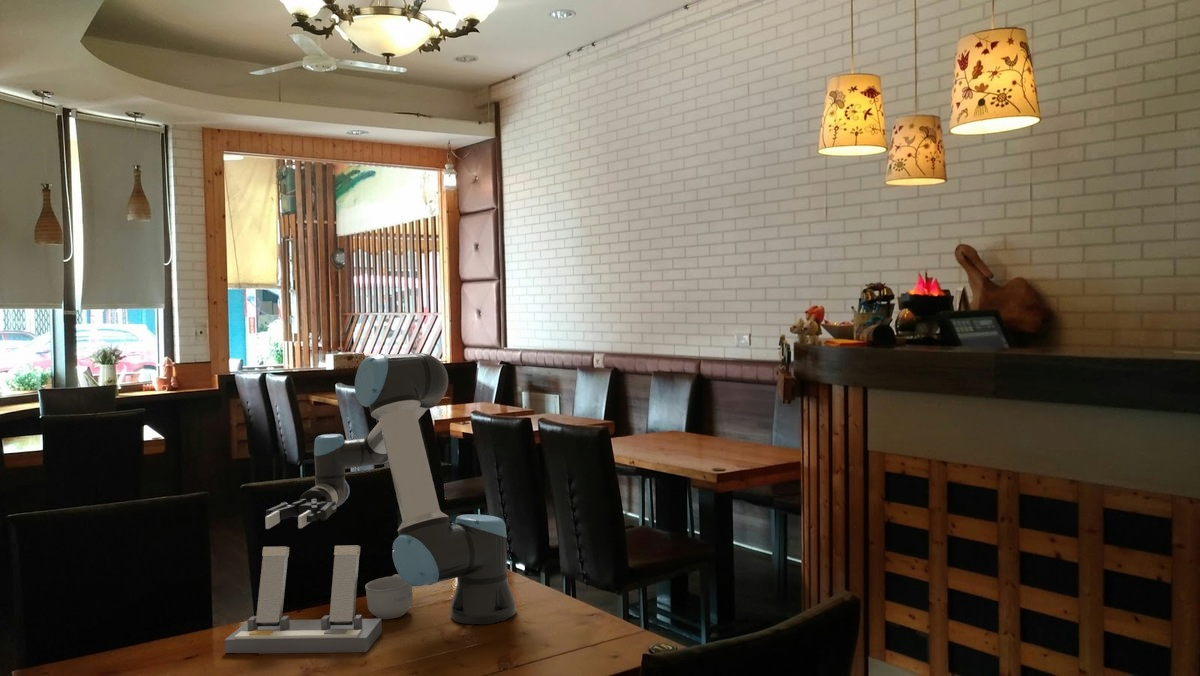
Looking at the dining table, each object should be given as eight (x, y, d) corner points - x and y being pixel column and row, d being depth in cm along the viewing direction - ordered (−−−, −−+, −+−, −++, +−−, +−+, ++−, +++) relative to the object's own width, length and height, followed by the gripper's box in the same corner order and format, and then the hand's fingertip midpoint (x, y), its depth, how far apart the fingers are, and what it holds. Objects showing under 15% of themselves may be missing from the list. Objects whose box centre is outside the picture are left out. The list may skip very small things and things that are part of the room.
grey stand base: (381, 631, 199) (381, 607, 198) (366, 652, 187) (365, 626, 187) (248, 633, 199) (248, 609, 199) (225, 653, 187) (224, 628, 187)
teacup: (401, 624, 204) (400, 589, 204) (357, 621, 206) (356, 587, 206) (425, 604, 217) (424, 572, 217) (384, 602, 220) (383, 570, 219)
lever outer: (281, 626, 194) (289, 547, 199) (277, 626, 192) (285, 546, 197) (259, 626, 194) (267, 547, 199) (254, 626, 192) (263, 546, 197)
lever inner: (354, 625, 194) (360, 546, 199) (351, 625, 191) (357, 545, 197) (331, 625, 194) (338, 546, 199) (328, 625, 191) (334, 545, 197)
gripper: (357, 515, 225) (326, 538, 202) (279, 517, 226) (241, 539, 203) (356, 486, 225) (326, 505, 202) (278, 487, 226) (240, 506, 203)
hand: (283, 522), depth 203 cm, fingers open, 7 cm apart
